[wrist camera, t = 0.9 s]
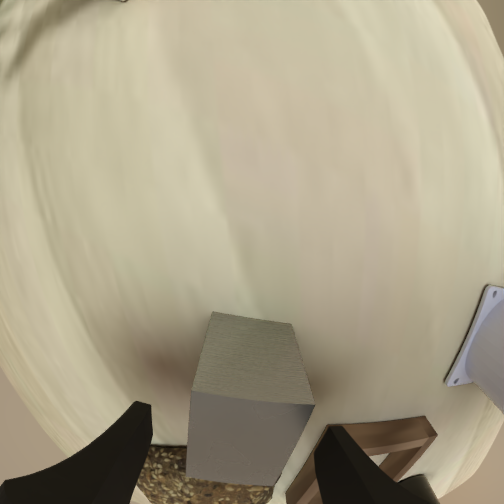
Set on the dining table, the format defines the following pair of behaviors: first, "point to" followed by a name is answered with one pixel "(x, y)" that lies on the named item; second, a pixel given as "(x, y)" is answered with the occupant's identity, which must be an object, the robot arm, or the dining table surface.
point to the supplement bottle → (420, 488)
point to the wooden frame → (371, 452)
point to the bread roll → (191, 483)
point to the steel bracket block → (246, 401)
